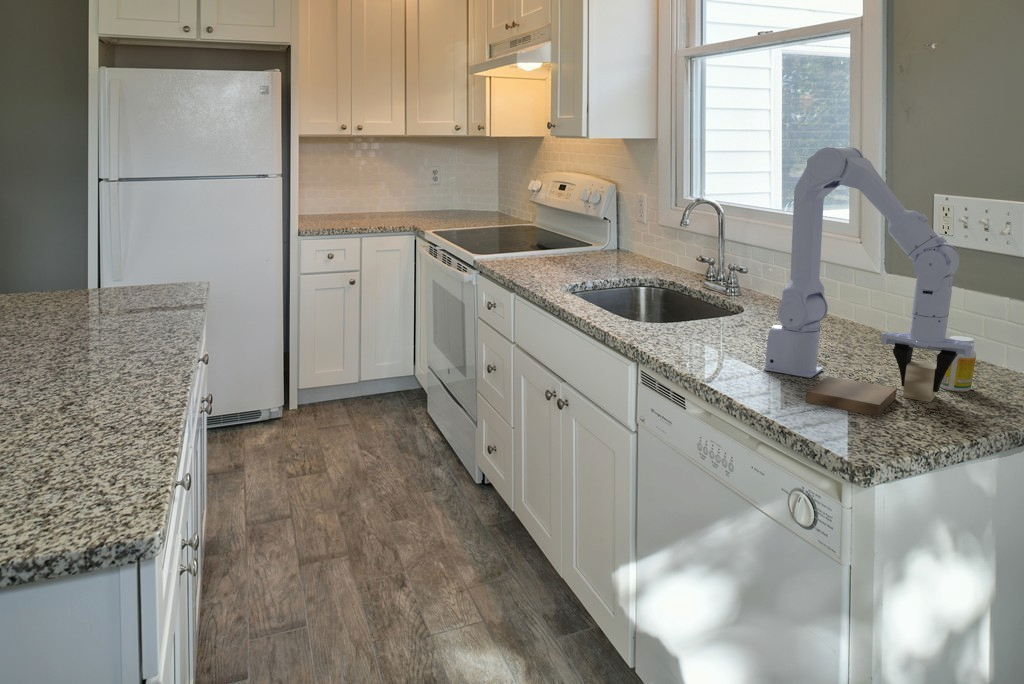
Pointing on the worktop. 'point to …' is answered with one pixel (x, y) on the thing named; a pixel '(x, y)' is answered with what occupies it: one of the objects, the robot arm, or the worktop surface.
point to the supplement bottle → (960, 370)
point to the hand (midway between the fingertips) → (920, 388)
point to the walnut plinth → (851, 395)
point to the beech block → (920, 381)
